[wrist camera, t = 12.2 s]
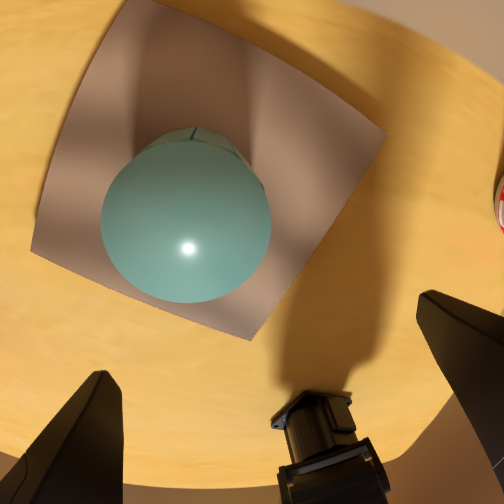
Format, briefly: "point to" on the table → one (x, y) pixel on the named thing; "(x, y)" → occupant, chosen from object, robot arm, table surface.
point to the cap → (186, 218)
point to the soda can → (500, 204)
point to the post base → (213, 119)
